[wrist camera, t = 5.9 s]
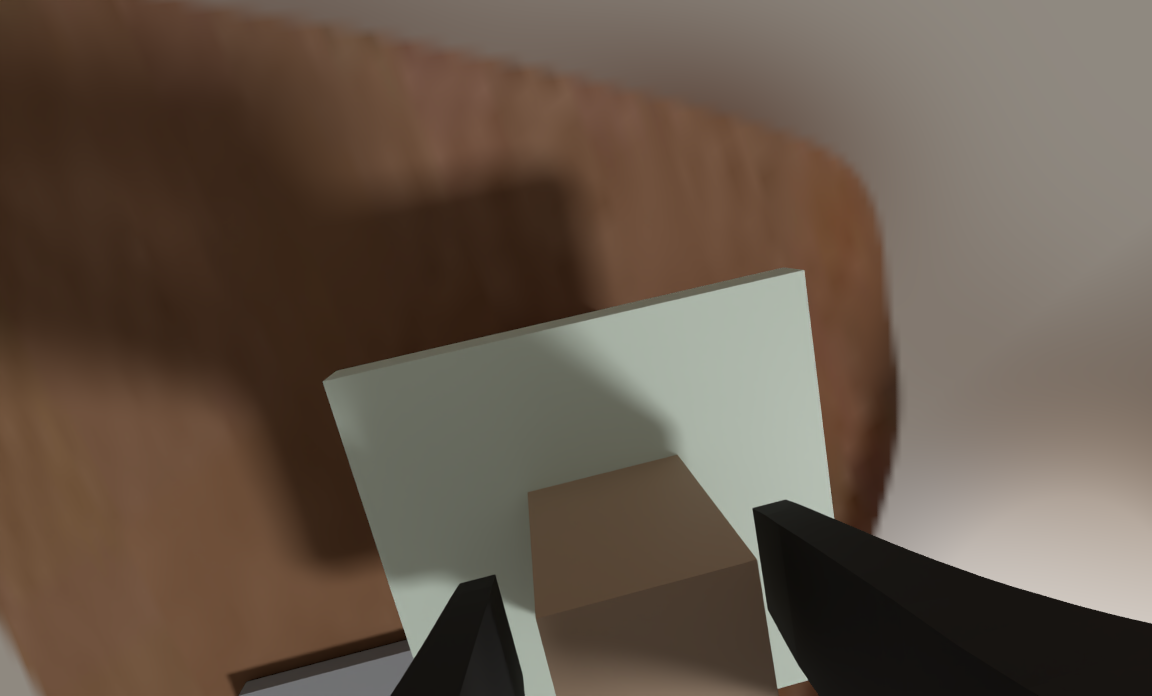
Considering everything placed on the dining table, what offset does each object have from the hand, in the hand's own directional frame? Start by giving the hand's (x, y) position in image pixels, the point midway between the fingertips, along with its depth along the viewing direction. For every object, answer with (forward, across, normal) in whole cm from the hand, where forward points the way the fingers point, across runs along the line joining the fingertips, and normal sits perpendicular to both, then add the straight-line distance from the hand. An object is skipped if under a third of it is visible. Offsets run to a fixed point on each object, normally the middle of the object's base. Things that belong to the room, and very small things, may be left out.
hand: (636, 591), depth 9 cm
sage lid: (+2, 0, 0) cm, 3 cm away
